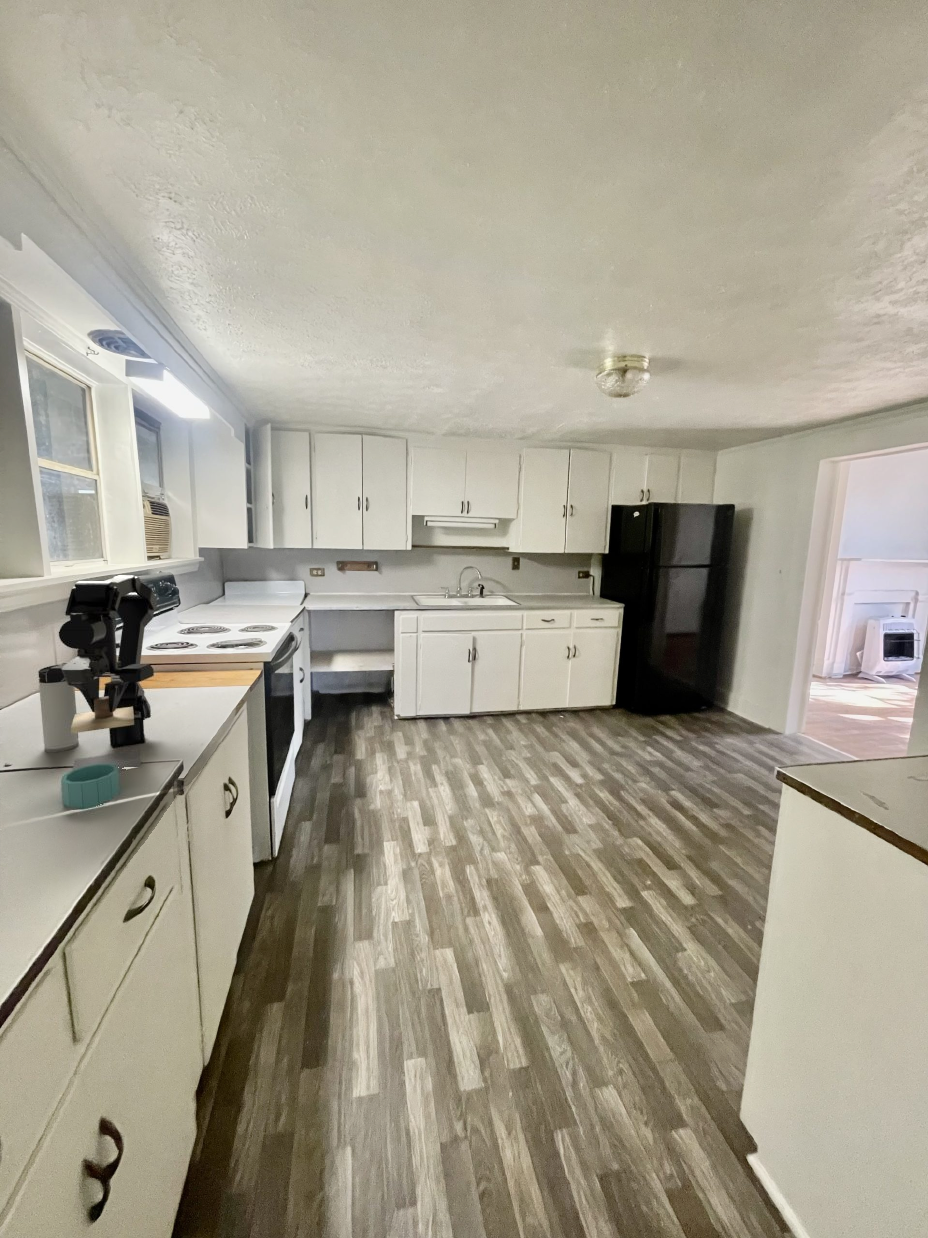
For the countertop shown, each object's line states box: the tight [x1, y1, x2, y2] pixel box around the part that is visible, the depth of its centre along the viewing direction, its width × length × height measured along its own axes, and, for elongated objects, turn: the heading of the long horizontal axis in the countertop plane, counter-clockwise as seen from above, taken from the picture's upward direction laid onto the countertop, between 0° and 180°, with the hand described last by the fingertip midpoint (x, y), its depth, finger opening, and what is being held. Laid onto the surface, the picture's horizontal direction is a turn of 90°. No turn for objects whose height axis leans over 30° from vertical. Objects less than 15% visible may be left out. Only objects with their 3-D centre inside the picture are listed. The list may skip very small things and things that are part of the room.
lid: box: [71, 696, 134, 734], centre depth 105 cm, size 10×10×5 cm
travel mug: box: [37, 662, 80, 753], centre depth 114 cm, size 6×7×20 cm
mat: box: [72, 748, 142, 773], centre depth 107 cm, size 12×12×1 cm
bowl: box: [60, 764, 121, 811], centre depth 92 cm, size 8×8×5 cm
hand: (103, 711), depth 105 cm, fingers closed on lid, 3 cm apart
